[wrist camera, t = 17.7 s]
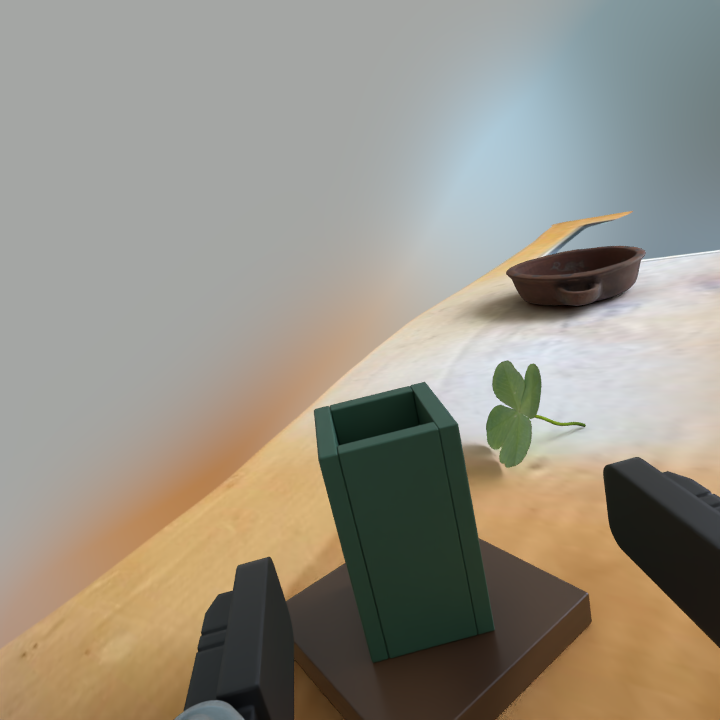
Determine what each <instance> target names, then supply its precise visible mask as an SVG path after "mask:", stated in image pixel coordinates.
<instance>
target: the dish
mask: <svg viewBox="0 0 720 720" xmlns="http://www.w3.org/2000/svg"><path fill="white" fill-rule="evenodd" d="M645 254H646V252H645V250H643V249H640V248H637V247H628V246H607V247H597V248H589V249H577V250H572V251H565V252H560V253H556V254H552V255H548V256H544V257H541V258H537V259H533V260H529V261H526V262H523V263H520V264H517V265H515V266H513V267H511V268H510V269H509V270H507V272H506V274H507V275H508V276H509V277H510V278H511V279H512V280H513V283H514V285H515V287H516V289H517V291H518V293H519V294H520V296H521V297H522V298H523V299H524V300H525V301H526V302H529V303H534V304H541V305H576V306H580V305H585V304H590V303H592V302H594V301H598V300H603V299H606V298H610V297H612V296H615V295H618V294H620V293H622V292H624V291H626V290H628V289H629V288H630V287H631V286H633V284H634V283H635V281H636V279H637V276H638V272H639V266H640V262H641V259H642V258H643V257H644V256H645Z"/></svg>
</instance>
